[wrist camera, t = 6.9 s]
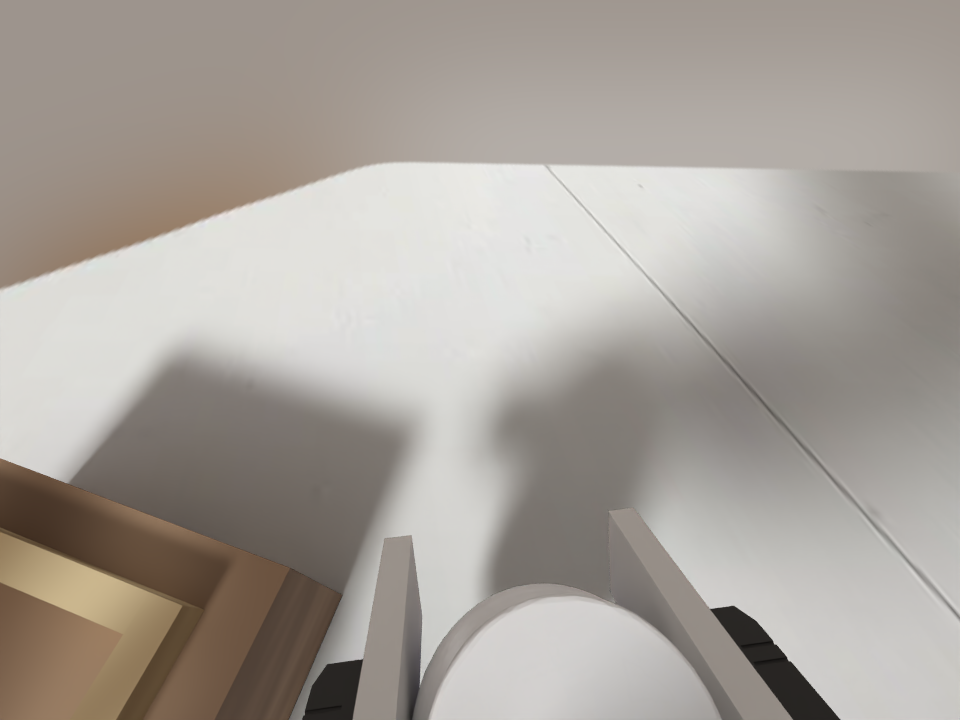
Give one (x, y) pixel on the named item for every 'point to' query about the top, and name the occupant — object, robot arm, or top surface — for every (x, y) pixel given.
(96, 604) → the tray
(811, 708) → the robot arm
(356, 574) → the top surface
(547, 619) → the pill bottle
